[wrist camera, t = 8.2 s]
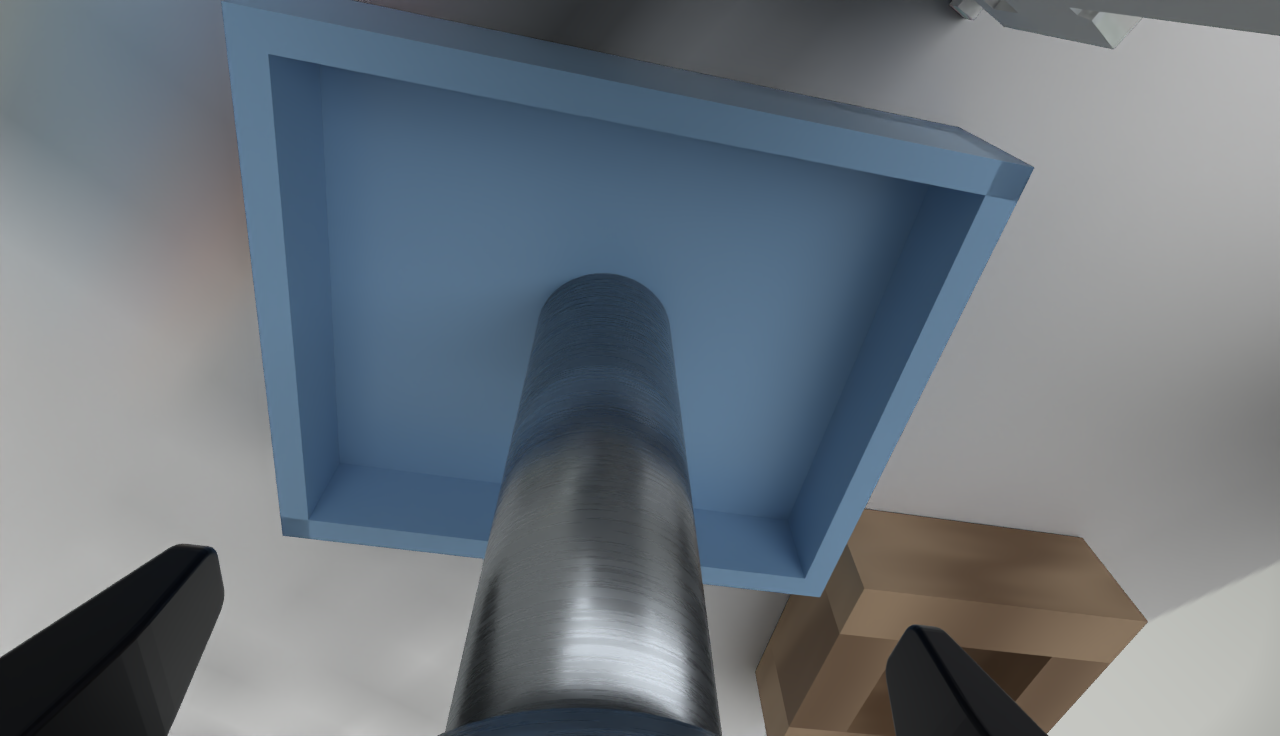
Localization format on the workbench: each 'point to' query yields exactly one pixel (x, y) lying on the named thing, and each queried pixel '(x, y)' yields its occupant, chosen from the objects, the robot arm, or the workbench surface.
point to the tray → (586, 271)
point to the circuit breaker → (1121, 16)
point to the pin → (592, 539)
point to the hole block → (943, 622)
